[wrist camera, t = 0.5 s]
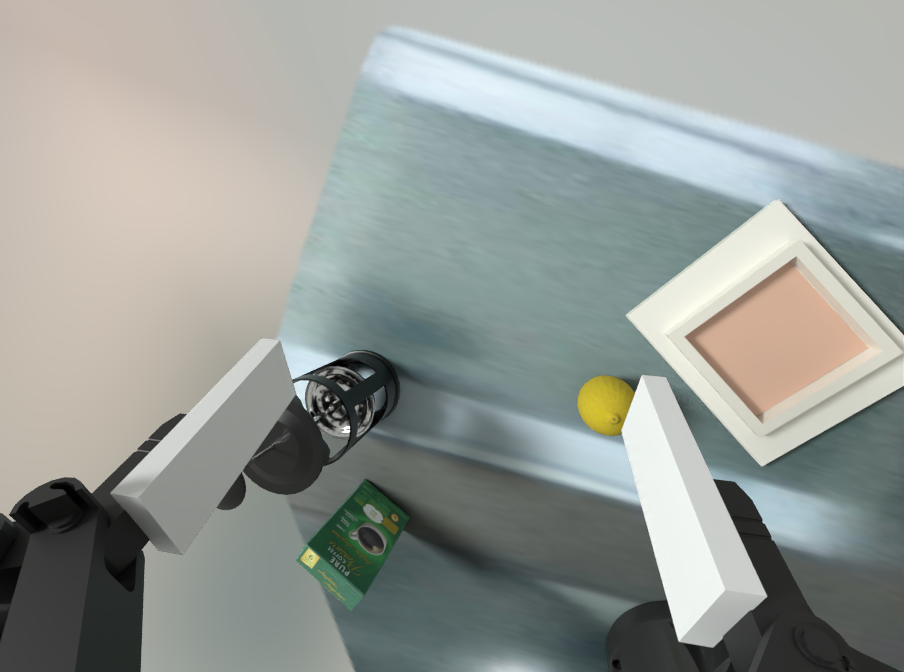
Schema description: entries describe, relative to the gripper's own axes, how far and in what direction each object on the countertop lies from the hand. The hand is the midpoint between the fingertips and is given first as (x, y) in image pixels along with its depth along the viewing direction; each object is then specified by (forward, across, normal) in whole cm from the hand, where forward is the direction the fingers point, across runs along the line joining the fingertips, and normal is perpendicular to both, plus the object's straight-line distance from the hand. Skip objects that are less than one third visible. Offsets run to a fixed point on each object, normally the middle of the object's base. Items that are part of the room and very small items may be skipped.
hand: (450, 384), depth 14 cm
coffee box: (+17, +12, +38) cm, 43 cm away
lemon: (+23, -13, +19) cm, 32 cm away
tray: (+24, -27, +12) cm, 38 cm away
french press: (+24, +15, +24) cm, 37 cm away
